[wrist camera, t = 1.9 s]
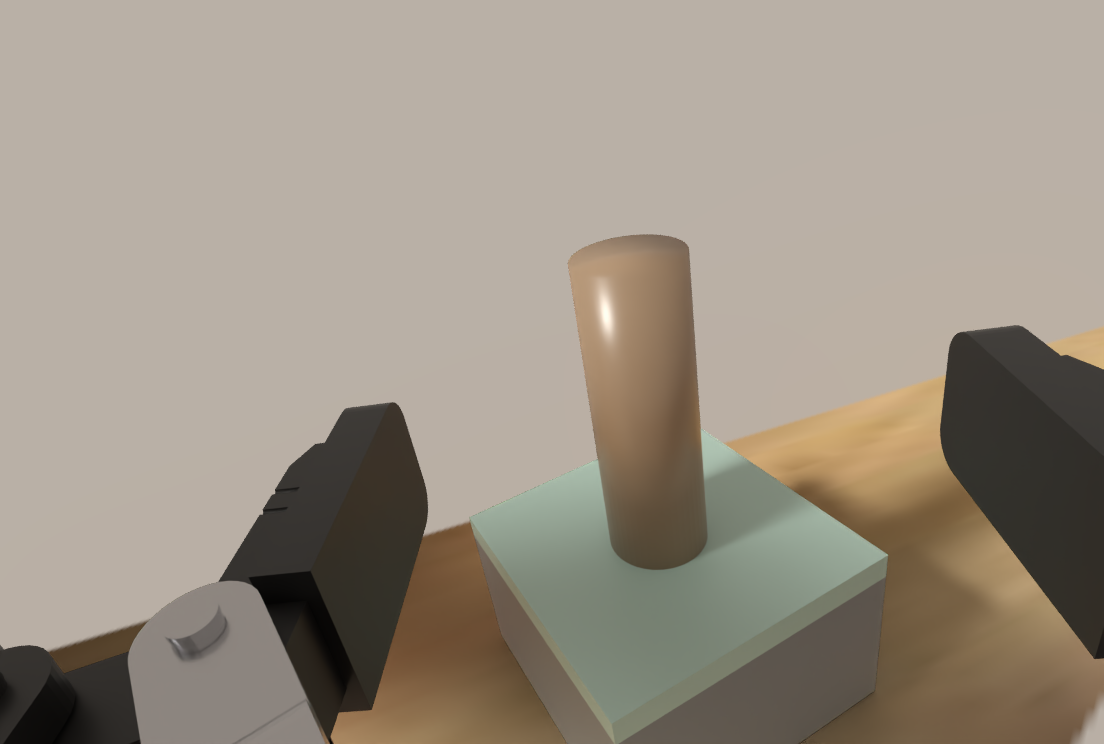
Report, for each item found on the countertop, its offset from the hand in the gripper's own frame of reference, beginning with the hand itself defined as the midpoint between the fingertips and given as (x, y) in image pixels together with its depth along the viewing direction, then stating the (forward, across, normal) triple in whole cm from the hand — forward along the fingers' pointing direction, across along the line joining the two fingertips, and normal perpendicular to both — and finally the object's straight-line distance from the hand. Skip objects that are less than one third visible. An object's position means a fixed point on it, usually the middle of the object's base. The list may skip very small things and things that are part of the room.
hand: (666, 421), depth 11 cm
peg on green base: (+11, 0, +14) cm, 18 cm away
